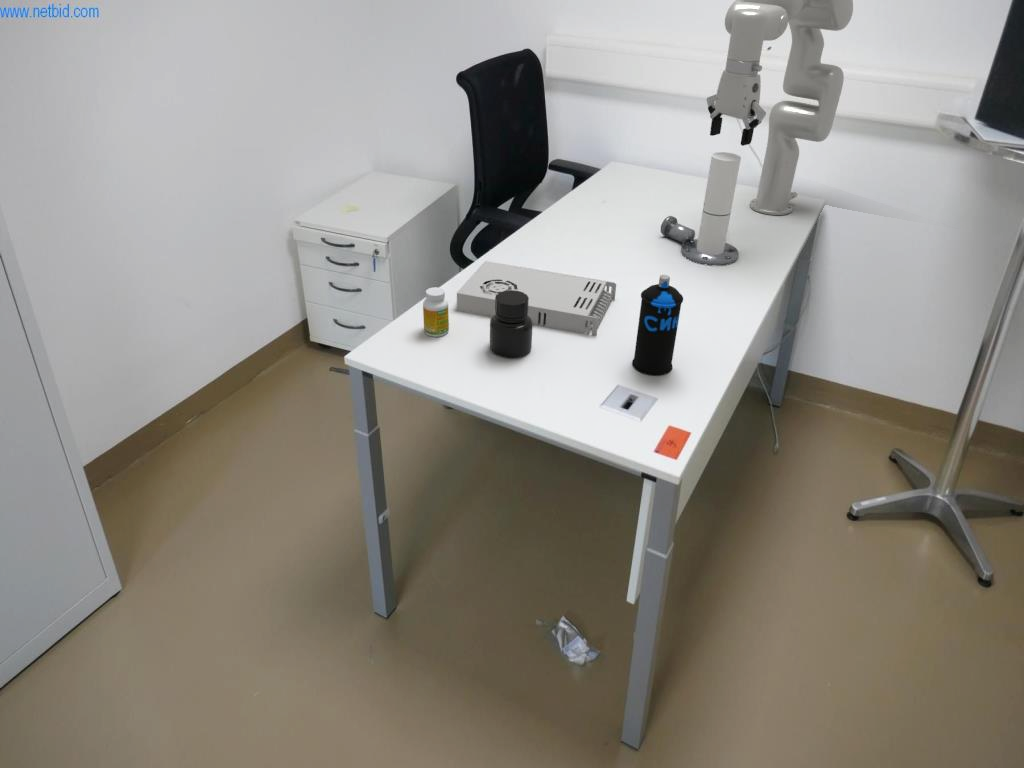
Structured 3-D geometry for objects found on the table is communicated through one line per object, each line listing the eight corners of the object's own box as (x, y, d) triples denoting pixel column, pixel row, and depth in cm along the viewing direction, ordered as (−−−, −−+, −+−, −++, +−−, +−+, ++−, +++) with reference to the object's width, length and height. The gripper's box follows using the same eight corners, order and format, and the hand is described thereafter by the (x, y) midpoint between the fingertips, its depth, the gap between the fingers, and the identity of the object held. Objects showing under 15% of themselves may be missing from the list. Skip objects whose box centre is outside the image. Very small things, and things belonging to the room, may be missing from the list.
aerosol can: (628, 355, 165) (639, 268, 154) (666, 354, 165) (680, 267, 154) (636, 376, 158) (648, 286, 147) (676, 375, 158) (691, 285, 148)
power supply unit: (596, 338, 172) (598, 318, 169) (456, 312, 180) (456, 292, 178) (614, 301, 187) (616, 282, 184) (485, 279, 195) (485, 260, 193)
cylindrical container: (721, 245, 213) (738, 153, 199) (725, 255, 207) (742, 161, 193) (695, 243, 213) (710, 151, 200) (697, 254, 207) (713, 160, 194)
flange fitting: (749, 257, 209) (753, 237, 206) (711, 270, 202) (715, 250, 199) (684, 229, 225) (687, 210, 222) (647, 240, 217) (650, 221, 214)
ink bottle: (537, 341, 169) (539, 291, 162) (528, 362, 161) (530, 310, 155) (493, 335, 170) (494, 285, 164) (482, 355, 163) (483, 304, 157)
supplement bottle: (439, 340, 168) (437, 299, 163) (419, 333, 170) (417, 292, 165) (453, 329, 172) (453, 289, 167) (433, 323, 174) (432, 283, 169)
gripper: (782, 71, 181) (768, 145, 191) (724, 58, 192) (713, 128, 202) (761, 76, 177) (747, 151, 187) (703, 61, 189) (693, 133, 198)
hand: (729, 139), depth 194 cm, fingers open, 9 cm apart
